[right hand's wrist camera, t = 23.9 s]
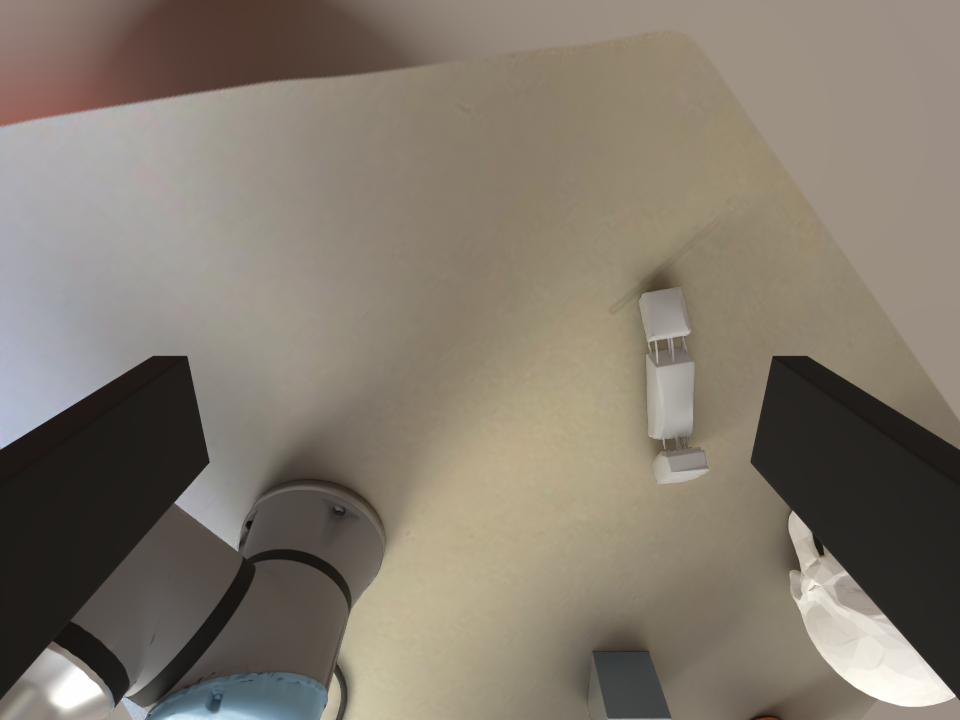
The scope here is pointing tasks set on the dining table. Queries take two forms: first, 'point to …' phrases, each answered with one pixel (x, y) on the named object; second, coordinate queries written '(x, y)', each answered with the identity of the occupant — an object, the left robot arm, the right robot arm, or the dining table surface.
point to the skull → (857, 630)
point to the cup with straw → (767, 718)
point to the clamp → (670, 385)
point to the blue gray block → (625, 688)
